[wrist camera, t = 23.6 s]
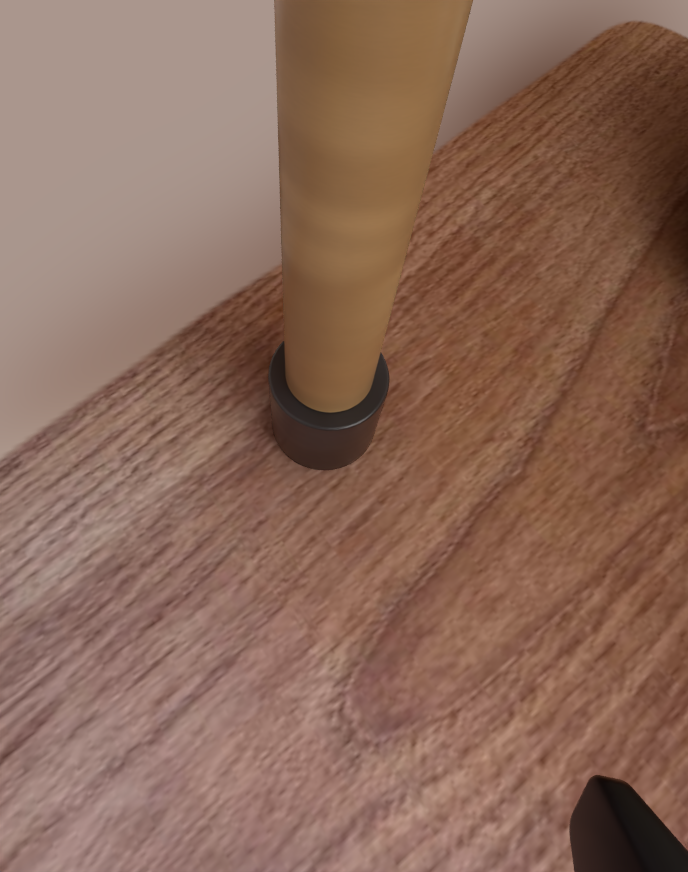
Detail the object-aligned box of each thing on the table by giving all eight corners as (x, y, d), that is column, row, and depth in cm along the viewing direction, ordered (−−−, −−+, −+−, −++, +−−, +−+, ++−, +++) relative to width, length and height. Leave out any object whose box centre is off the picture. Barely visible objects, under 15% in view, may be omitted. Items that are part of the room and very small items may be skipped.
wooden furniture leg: (325, 491, 19) (403, 23, 6) (250, 422, 20) (155, -141, 6) (395, 422, 21) (602, -104, 7) (322, 359, 21) (373, -229, 8)
